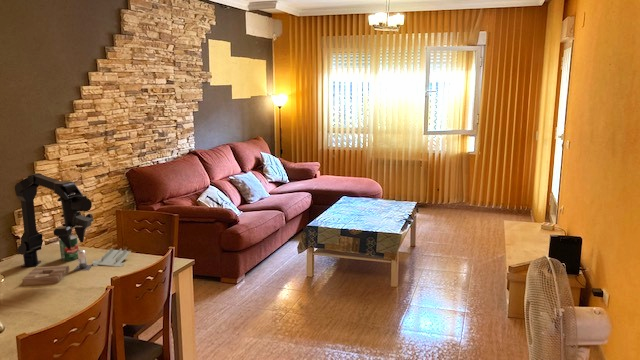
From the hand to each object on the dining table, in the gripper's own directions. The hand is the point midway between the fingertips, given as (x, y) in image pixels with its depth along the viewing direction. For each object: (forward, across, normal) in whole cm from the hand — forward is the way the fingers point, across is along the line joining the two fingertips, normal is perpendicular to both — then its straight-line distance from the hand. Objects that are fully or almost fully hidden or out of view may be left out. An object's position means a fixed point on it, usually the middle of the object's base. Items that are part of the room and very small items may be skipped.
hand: (75, 245), depth 223 cm
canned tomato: (+12, +16, +15) cm, 25 cm away
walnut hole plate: (+12, -7, +11) cm, 18 cm away
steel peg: (+12, +5, +2) cm, 13 cm away
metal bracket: (+13, +14, -8) cm, 21 cm away
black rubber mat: (+13, +5, +2) cm, 14 cm away
